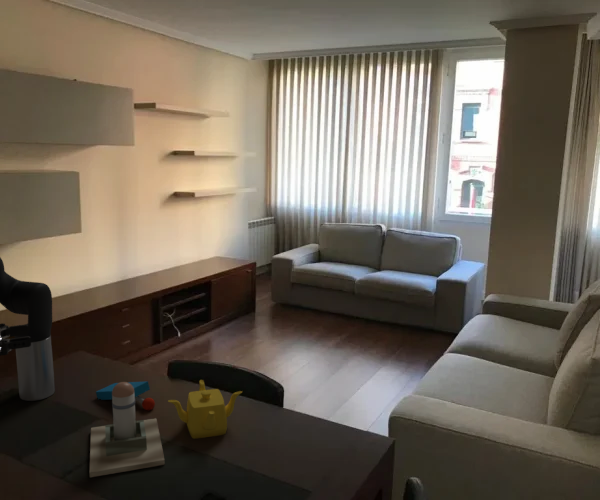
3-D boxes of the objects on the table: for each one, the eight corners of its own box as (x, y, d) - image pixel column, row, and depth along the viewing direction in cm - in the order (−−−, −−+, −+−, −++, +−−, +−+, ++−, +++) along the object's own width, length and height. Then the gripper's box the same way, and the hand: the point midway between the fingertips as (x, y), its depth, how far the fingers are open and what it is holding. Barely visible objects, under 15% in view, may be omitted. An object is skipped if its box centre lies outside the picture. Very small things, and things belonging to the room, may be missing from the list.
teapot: (212, 447, 132) (212, 410, 130) (166, 433, 138) (165, 397, 136) (244, 421, 145) (244, 387, 143) (201, 409, 151) (200, 376, 149)
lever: (101, 415, 156) (144, 415, 147) (95, 391, 156) (138, 390, 146) (120, 405, 162) (163, 404, 152) (114, 383, 161) (157, 380, 152)
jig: (91, 432, 138) (90, 416, 137) (156, 422, 143) (156, 407, 142) (89, 477, 119) (88, 460, 119) (164, 464, 125) (164, 447, 124)
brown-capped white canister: (113, 439, 132) (110, 379, 130) (136, 435, 134) (133, 376, 131) (114, 450, 128) (111, 388, 125) (137, 446, 129) (134, 386, 126)
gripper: (-63, 340, 106) (30, 328, 114) (-58, 319, 118) (25, 309, 126) (-59, 377, 107) (33, 362, 115) (-55, 352, 119) (28, 340, 127)
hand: (29, 334), depth 120 cm, fingers open, 8 cm apart
